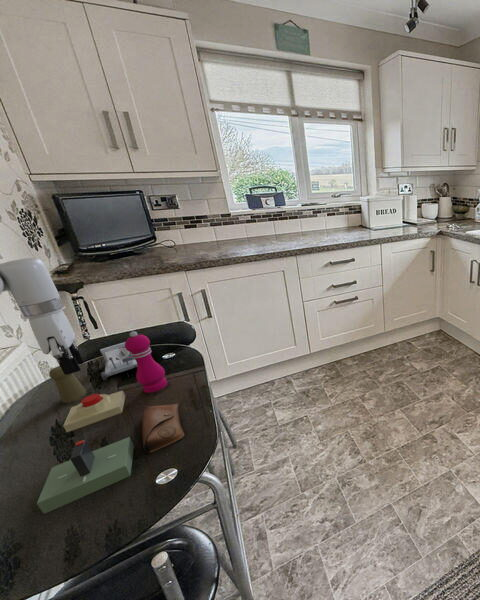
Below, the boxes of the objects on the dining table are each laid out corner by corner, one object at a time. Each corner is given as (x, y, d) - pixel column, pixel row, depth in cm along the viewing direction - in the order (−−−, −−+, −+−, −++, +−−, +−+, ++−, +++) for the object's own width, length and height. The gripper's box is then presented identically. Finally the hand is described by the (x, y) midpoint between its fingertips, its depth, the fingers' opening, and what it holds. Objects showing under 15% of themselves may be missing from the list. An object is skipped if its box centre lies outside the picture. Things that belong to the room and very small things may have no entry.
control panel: (43, 514, 65) (36, 503, 64) (58, 477, 74) (51, 466, 72) (130, 475, 72) (125, 465, 71) (134, 446, 81) (129, 436, 80)
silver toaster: (135, 346, 112) (91, 360, 106) (145, 370, 116) (103, 385, 109) (133, 331, 125) (94, 342, 119) (142, 353, 129) (105, 365, 122)
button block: (66, 432, 88) (59, 420, 86) (74, 413, 96) (68, 402, 94) (122, 412, 94) (116, 401, 93) (125, 396, 102) (120, 385, 100)
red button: (82, 409, 91) (79, 404, 90) (85, 402, 94) (82, 397, 94) (100, 403, 93) (98, 398, 92) (103, 396, 96) (100, 391, 96)
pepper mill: (145, 397, 100) (119, 339, 93) (140, 388, 105) (115, 333, 98) (171, 385, 105) (149, 329, 98) (166, 377, 110) (144, 324, 103)
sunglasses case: (187, 435, 82) (162, 423, 78) (163, 459, 80) (137, 448, 76) (178, 402, 95) (158, 391, 91) (158, 422, 93) (136, 411, 89)
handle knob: (90, 472, 70) (79, 454, 68) (80, 476, 69) (69, 458, 67) (95, 456, 74) (85, 438, 72) (85, 460, 74) (75, 442, 72)
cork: (59, 399, 104) (43, 369, 100) (84, 388, 108) (69, 360, 104) (64, 405, 100) (47, 374, 96) (89, 394, 105) (74, 364, 101)
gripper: (33, 303, 88) (64, 361, 94) (9, 321, 74) (47, 388, 81) (70, 295, 91) (97, 352, 98) (54, 312, 78) (87, 376, 85)
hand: (74, 368), depth 89 cm, fingers open, 4 cm apart
